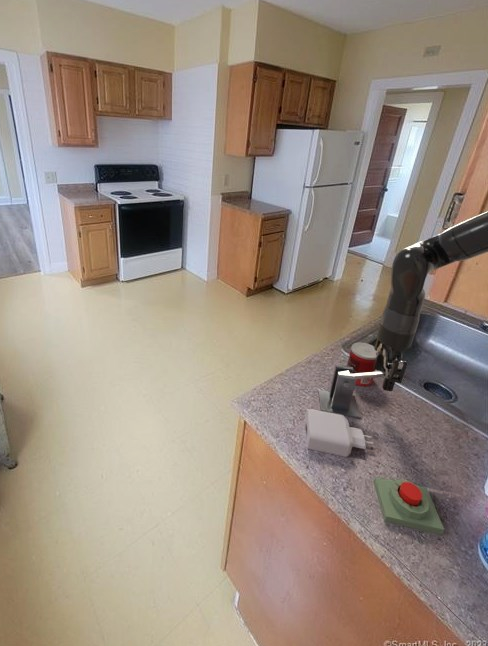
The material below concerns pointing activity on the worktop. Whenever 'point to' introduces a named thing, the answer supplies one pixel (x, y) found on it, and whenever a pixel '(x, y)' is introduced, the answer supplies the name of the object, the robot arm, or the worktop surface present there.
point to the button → (410, 493)
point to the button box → (407, 507)
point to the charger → (332, 433)
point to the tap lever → (365, 374)
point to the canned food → (362, 361)
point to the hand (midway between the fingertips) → (382, 379)
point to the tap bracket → (340, 395)
